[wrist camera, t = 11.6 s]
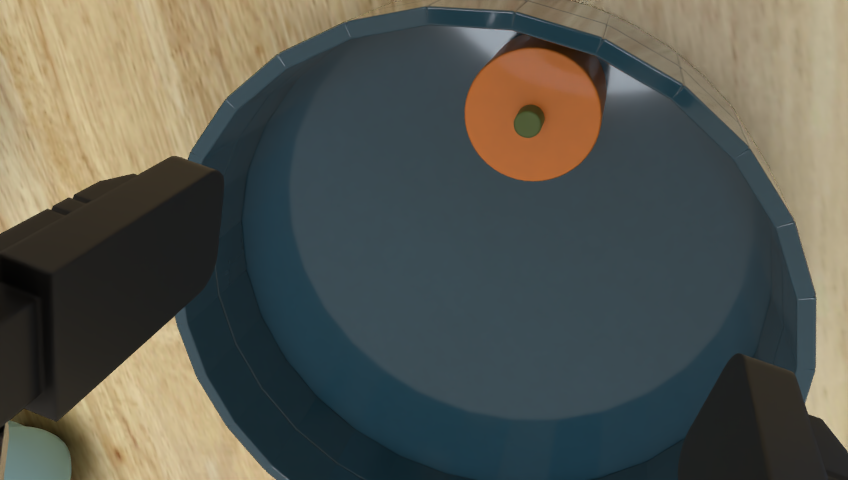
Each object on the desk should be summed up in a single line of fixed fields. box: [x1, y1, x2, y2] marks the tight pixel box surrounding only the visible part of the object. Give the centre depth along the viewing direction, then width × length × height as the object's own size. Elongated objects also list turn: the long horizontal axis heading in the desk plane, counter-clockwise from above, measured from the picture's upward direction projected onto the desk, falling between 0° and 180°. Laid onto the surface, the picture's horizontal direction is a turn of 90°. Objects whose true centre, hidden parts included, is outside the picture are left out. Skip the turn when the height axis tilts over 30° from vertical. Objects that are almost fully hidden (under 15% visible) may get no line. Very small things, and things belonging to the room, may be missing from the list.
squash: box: [465, 34, 606, 181], centre depth 22 cm, size 4×4×4 cm
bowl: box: [175, 0, 816, 480], centre depth 25 cm, size 21×21×5 cm
